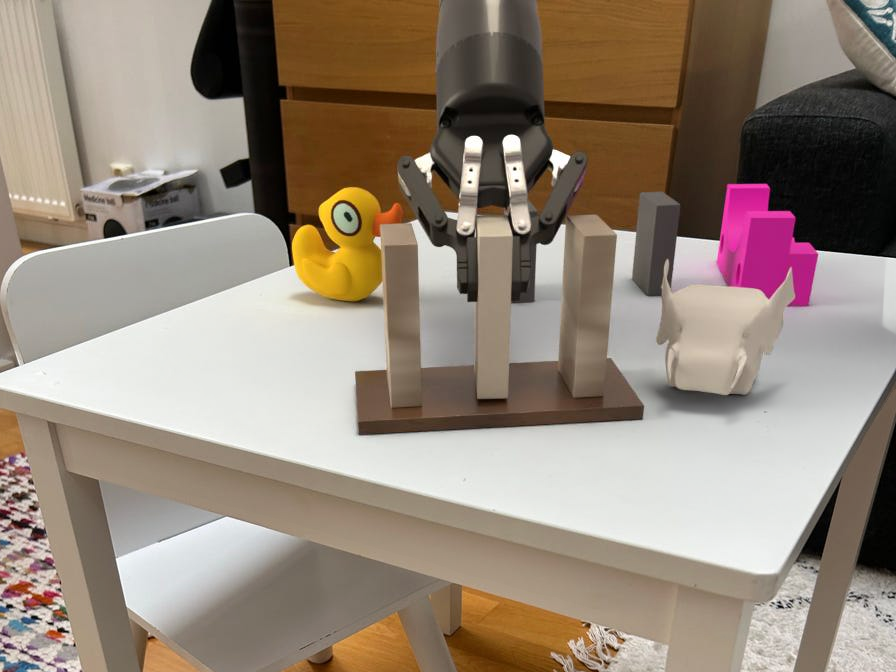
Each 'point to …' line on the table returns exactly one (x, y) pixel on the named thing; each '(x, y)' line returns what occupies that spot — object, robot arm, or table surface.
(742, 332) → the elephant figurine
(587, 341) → the book rack
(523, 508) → the table surface
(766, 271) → the toy block
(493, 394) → the beige rectangular block
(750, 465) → the table surface
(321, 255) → the duckling
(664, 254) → the dark grey upright posts
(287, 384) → the table surface
